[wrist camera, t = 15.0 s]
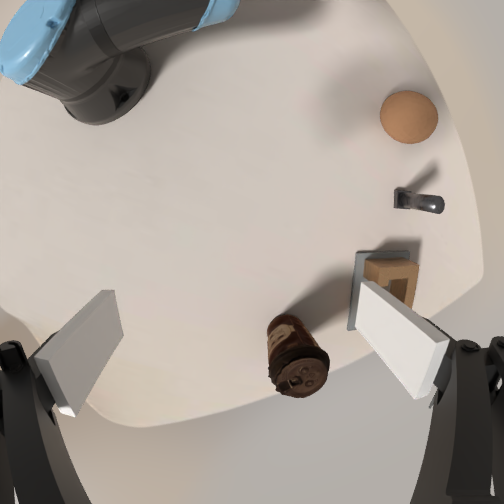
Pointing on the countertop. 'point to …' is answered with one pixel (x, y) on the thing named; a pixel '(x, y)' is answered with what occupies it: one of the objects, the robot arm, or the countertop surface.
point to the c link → (394, 276)
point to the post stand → (418, 201)
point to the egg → (408, 117)
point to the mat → (359, 278)
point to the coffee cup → (295, 358)
